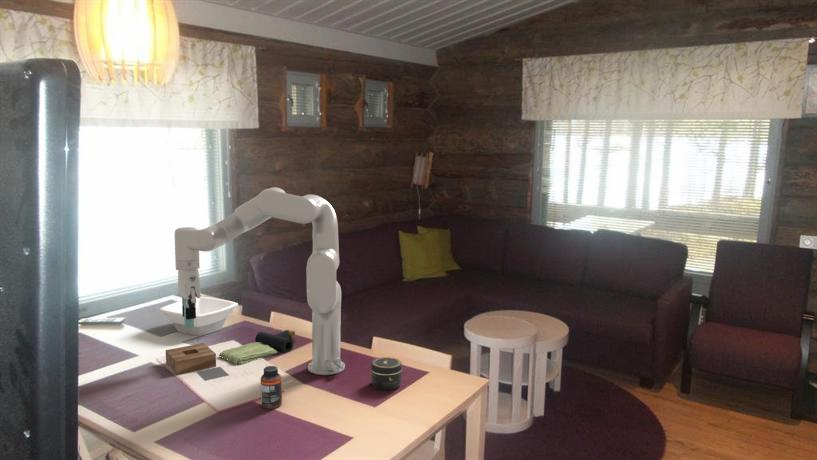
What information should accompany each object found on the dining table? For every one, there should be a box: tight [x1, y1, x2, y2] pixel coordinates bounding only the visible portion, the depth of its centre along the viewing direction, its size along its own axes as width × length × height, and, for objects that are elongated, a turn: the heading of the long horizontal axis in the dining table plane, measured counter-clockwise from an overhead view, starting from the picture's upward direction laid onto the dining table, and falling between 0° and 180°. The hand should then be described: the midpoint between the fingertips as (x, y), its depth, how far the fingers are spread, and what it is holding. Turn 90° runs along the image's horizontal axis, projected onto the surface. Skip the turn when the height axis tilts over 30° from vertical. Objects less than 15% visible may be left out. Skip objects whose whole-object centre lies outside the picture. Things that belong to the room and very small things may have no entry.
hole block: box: [165, 342, 217, 376], centre depth 198 cm, size 13×13×5 cm
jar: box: [370, 356, 403, 391], centre depth 185 cm, size 10×10×8 cm
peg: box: [184, 297, 194, 328], centre depth 196 cm, size 3×3×10 cm
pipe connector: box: [254, 329, 296, 353], centre depth 220 cm, size 12×5×15 cm
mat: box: [196, 366, 230, 381], centre depth 191 cm, size 9×8×1 cm
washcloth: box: [218, 342, 278, 366], centre depth 209 cm, size 13×18×3 cm
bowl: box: [158, 296, 239, 337], centre depth 237 cm, size 24×25×10 cm
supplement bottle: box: [260, 365, 283, 410], centre depth 168 cm, size 6×6×11 cm
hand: (189, 317), depth 196 cm, fingers closed on peg, 3 cm apart
